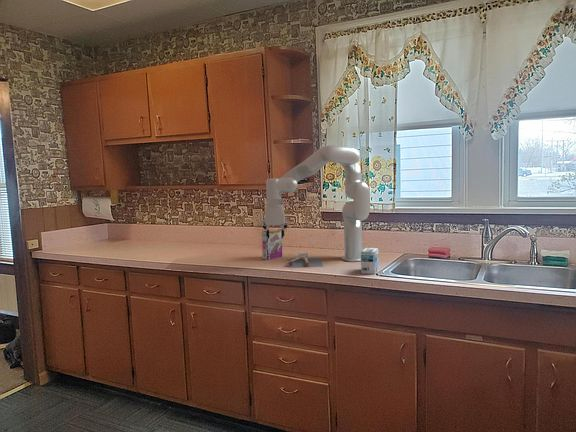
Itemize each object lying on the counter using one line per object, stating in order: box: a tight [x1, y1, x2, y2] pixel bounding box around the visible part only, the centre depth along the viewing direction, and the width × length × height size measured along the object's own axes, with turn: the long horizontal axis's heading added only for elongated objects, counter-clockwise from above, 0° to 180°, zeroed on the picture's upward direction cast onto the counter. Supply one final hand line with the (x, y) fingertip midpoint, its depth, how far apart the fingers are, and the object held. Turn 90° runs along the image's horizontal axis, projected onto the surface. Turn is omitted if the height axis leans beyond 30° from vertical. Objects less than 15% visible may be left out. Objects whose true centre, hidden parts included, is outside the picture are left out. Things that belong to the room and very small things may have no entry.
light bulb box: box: [360, 247, 380, 275], centre depth 217 cm, size 11×7×11 cm, turn 158°
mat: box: [286, 257, 325, 269], centre depth 240 cm, size 18×23×1 cm
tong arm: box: [286, 256, 302, 267], centre depth 238 cm, size 16×1×2 cm, turn 154°
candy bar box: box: [261, 228, 283, 261], centre depth 255 cm, size 11×5×16 cm, turn 132°
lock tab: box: [298, 251, 309, 259], centre depth 250 cm, size 5×5×3 cm
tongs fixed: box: [302, 256, 310, 268], centre depth 238 cm, size 19×3×2 cm, turn 2°
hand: (275, 237), depth 230 cm, fingers open, 6 cm apart
